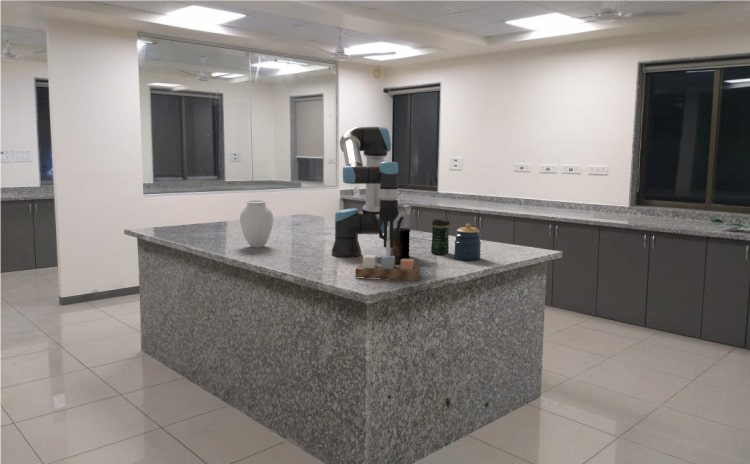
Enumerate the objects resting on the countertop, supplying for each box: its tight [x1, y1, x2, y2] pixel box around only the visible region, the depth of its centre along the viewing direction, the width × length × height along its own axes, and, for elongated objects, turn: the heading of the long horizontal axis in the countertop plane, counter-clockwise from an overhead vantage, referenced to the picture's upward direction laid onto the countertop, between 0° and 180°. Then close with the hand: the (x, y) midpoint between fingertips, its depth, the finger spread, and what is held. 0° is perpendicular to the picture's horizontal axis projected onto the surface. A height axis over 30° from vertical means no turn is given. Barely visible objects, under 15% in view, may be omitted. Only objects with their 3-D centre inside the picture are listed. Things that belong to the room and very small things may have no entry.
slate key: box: [381, 255, 395, 269], centre depth 242 cm, size 5×5×6 cm
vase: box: [239, 200, 274, 248], centre depth 314 cm, size 18×18×25 cm
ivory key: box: [362, 254, 377, 268], centre depth 244 cm, size 5×5×6 cm
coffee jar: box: [430, 217, 450, 255], centre depth 298 cm, size 10×8×19 cm
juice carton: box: [387, 201, 412, 256], centre depth 290 cm, size 9×10×27 cm
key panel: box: [355, 263, 421, 282], centre depth 243 cm, size 26×11×4 cm, turn 81°
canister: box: [453, 223, 482, 262], centre depth 284 cm, size 13×13×18 cm
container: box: [392, 228, 411, 265], centre depth 260 cm, size 9×9×18 cm
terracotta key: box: [400, 258, 415, 270], centre depth 241 cm, size 5×5×6 cm
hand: (388, 255), depth 242 cm, fingers closed
